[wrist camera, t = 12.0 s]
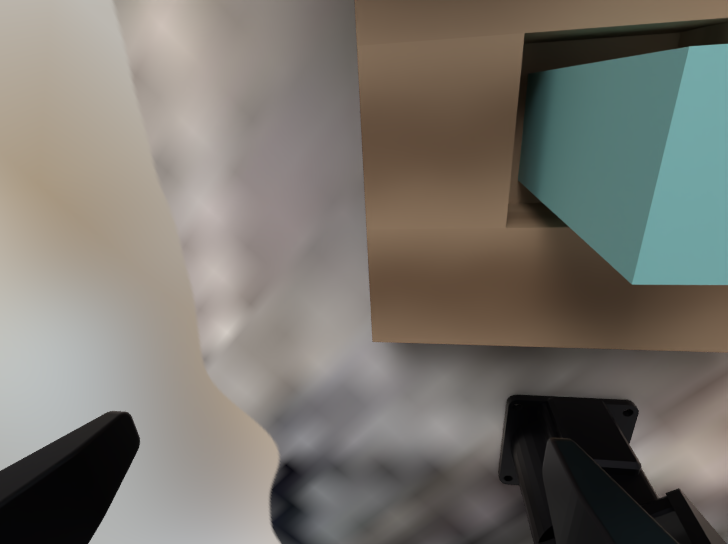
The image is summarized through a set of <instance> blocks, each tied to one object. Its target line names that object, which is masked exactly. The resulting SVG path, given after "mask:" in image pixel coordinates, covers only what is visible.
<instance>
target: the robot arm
mask: <svg viewBox="0 0 728 544" xmlns="http://www.w3.org/2000/svg"><path fill="white" fill-rule="evenodd" d="M515 404H519V405H517V406H515ZM626 409H628V410H627V411H624V410H626ZM638 412H639V410H638V409H637V407H636V406H635V404H634V403H633V402H632V401H629V400H617V399H596V398H574V397H553V396H532V395H513V396H510V397H509V398H508V400H507V404H506V412H505V420H504V429H503V437H502V445H501V454H500V462H499V471H498V473H499V478H500V481H501V482H502V483H504V484H511V485H519V486H520V490H521V494H522V498H523V502H524V506H525V510H526V514H527V518H528V522H529V526H530V530H531V534H532V538H533V542H534V544H726V542H725V541H724V540H723V539H722V538H721V537H720V535H719V534H718V533H717V532H716V531H715V529H714V528H713V527H712V526H711V525H710V524H709V522H708V521H707V520H706V519H705V518H704V517H703V515H702V514H701V513H700V512H699V511H698V510H697V508H696V507H695V506H694V505H693V504H692V503H691V501H690V500H689V499H688V498H687V497H686V495H685V494H684V493H683V492H682V491H681V490H680V489H679V488H678V489H676V490H673V491H670V492H668V493H666V495H667V496H665V497H662V498H658V496H657V494H656V493H655V491H654V489H653V487H652V486H651V484H650V482H649V481H648V479H647V477H646V475H645V474H644V472H643V470H642V469H641V464H640V462H639V460H638V458H637V457H636V455H635V453H634V452H633V450H632V448H631V447H630V445H629V443H630V440H631V437H632V433H633V430H634V427H635V423H636V420H637V417H638ZM139 445H140V437H139V435H138V432H137V429H136V427H135V424H134V421H133V419H132V416H131V415H130V414H129V413H128V412H121V411H110V412H107V413H105V414H104V415H102V416H100V417H98V418H96V419H94V420H93V421H91V422H89V423H87V424H85V425H83V426H82V427H80V428H78V429H76V430H74V431H72V432H71V433H69V434H67V435H65V436H63V437H61V438H60V439H58V440H56V441H54V442H52V443H50V444H49V445H47V446H45V447H43V448H42V449H40V450H38V451H36V452H34V453H32V454H31V455H29V456H27V457H25V458H23V459H21V460H19V461H18V462H16V463H14V464H12V465H10V466H8V467H7V468H5V469H3V470H1V471H0V544H88V543H89V542H90V540H91V538H92V537H93V535H94V533H95V532H96V530H97V528H98V527H99V525H100V523H101V521H102V520H103V518H104V516H105V514H106V512H107V510H108V508H109V506H110V504H111V503H112V501H113V498H114V497H115V495H116V492H117V491H118V489H119V487H120V485H121V482H122V480H123V479H124V477H125V475H126V473H127V471H128V469H129V467H130V465H131V463H132V461H133V459H134V457H135V455H136V453H137V451H138V448H139ZM507 475H508V476H507Z"/></svg>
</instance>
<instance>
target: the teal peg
mask: <svg viewBox="0 0 728 544" xmlns="http://www.w3.org/2000/svg"><path fill="white" fill-rule="evenodd" d="M518 181H519V182H521V183H522V184H523V185H524V186H525V187H526V188H527V189H528V190H529V191H530V192H531V193H533V194H534V195H535V196H536V197H537V198H538V199H539V200H540V201H541V202H542V203H544V204H545V205H546V206H547V207H548V208H549V209H550V210H551V211H552V212H553V213H554V214H556V215H557V216H558V217H559V218H560V219H561V220H562V221H563V222H564V223H565V224H566V225H568V226H569V227H570V228H571V229H572V230H573V231H574V232H575V233H576V234H577V235H578V236H580V237H581V238H582V239H583V240H584V241H585V242H586V243H587V244H588V245H589V246H590V247H592V248H593V249H594V250H595V251H596V252H597V253H598V254H599V255H600V256H601V257H602V258H604V259H605V260H606V261H607V262H608V263H609V264H610V265H611V266H612V267H613V268H614V269H616V270H617V271H618V272H619V273H620V274H621V275H622V276H623V277H624V278H625V279H627V280H628V281H629V282H630V283H631V284H632V285H728V44H717V45H703V46H689V47H683V48H677V49H672V50H666V51H660V52H654V53H648V54H642V55H636V56H630V57H624V58H618V59H612V60H606V61H601V62H595V63H589V64H583V65H577V66H571V67H565V68H559V69H553V70H547V71H541V72H536V73H530V74H528V83H527V93H526V103H525V113H524V123H523V133H522V143H521V153H520V163H519V173H518Z"/></svg>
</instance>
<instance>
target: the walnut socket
mask: <svg viewBox="0 0 728 544" xmlns="http://www.w3.org/2000/svg"><path fill="white" fill-rule="evenodd" d="M355 18H356V37H357V56H358V75H359V94H360V113H361V132H362V151H363V170H364V189H365V208H366V227H367V245H368V264H369V283H370V302H371V321H372V340H373V342H395V343H428V344H461V345H494V346H527V347H560V348H593V349H626V350H659V351H692V352H725V353H728V285H632V284H631V283H630V282H629V281H628V280H627V279H625V278H624V277H623V276H622V275H621V274H620V273H619V272H618V271H617V270H616V269H614V268H613V267H612V266H611V265H610V264H609V263H608V262H607V261H606V260H605V259H604V258H602V257H601V256H600V255H599V254H598V253H597V252H596V251H595V250H594V249H593V248H592V247H590V246H589V245H588V244H587V243H586V242H585V241H584V240H583V239H582V238H581V237H580V236H578V235H577V234H576V233H575V232H574V231H573V230H572V229H571V228H570V227H569V226H568V225H566V224H565V223H564V222H563V221H562V220H561V219H560V218H559V217H558V216H557V215H556V214H554V213H553V212H552V211H551V210H550V209H549V208H548V207H547V206H546V205H545V204H544V203H542V202H541V201H540V200H539V199H538V198H537V197H536V196H535V195H534V194H533V193H531V192H530V191H529V190H528V189H527V188H526V187H525V186H524V185H523V184H522V183H521V182H519V181H518V173H519V163H520V153H521V143H522V133H523V123H524V113H525V103H526V93H527V83H528V74H530V73H536V72H541V71H547V70H553V69H559V68H565V67H571V66H577V65H583V64H589V63H595V62H601V61H606V60H612V59H618V58H624V57H630V56H636V55H642V54H648V53H654V52H660V51H666V50H672V49H677V48H683V47H689V46H703V45H717V44H728V0H355Z"/></svg>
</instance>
